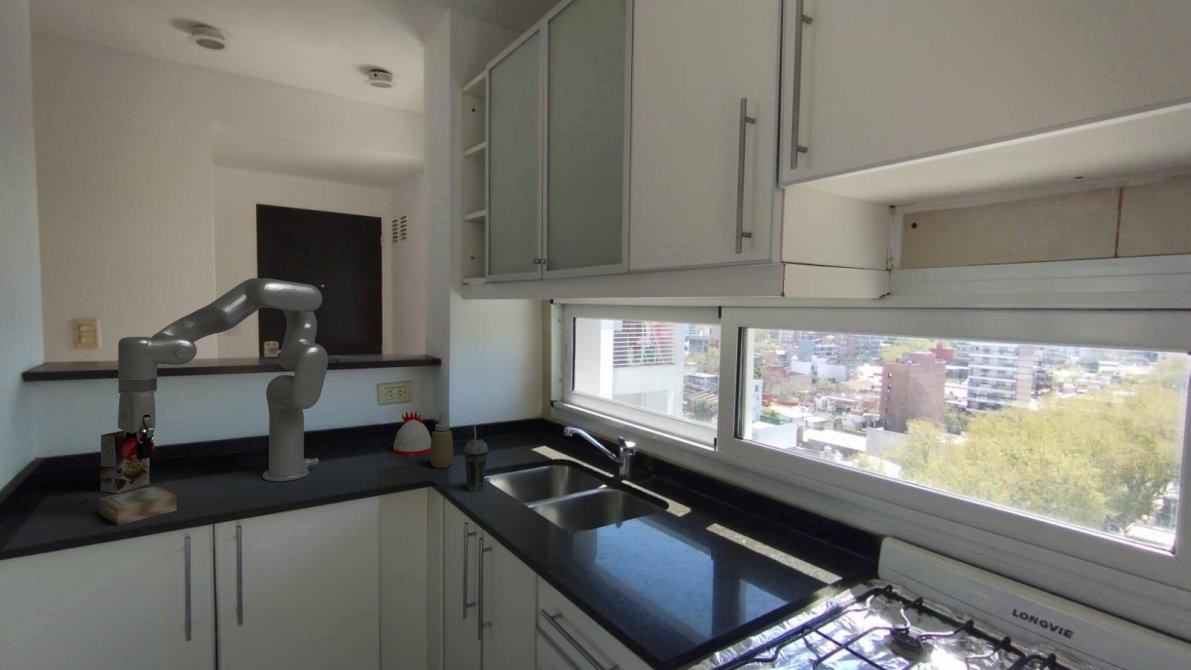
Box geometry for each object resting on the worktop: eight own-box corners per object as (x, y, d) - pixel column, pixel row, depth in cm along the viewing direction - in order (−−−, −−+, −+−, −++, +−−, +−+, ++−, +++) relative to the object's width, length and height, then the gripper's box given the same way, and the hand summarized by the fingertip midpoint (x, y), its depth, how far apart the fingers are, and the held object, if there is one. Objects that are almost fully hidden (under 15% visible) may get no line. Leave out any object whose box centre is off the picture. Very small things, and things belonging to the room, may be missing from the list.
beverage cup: (491, 487, 170) (493, 423, 169) (479, 495, 163) (481, 427, 162) (471, 484, 172) (472, 420, 171) (457, 491, 165) (459, 425, 164)
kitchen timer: (398, 446, 214) (399, 407, 213) (435, 446, 215) (435, 408, 215) (389, 455, 200) (389, 414, 199) (428, 456, 202) (429, 415, 201)
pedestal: (156, 500, 149) (156, 485, 149) (176, 510, 143) (176, 494, 143) (99, 513, 139) (99, 497, 139) (117, 525, 133) (117, 508, 132)
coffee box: (118, 494, 153) (117, 436, 152) (99, 491, 154) (99, 434, 153) (150, 483, 162) (150, 429, 161) (133, 481, 163) (132, 427, 162)
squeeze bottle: (423, 467, 187) (425, 415, 186) (439, 461, 195) (440, 411, 194) (443, 471, 184) (444, 417, 183) (458, 464, 192) (459, 413, 191)
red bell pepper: (163, 445, 141) (157, 429, 144) (137, 442, 136) (131, 426, 139) (144, 469, 141) (139, 453, 144) (117, 466, 136) (112, 450, 139)
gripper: (105, 383, 141) (106, 452, 142) (133, 391, 131) (133, 465, 132) (142, 381, 147) (142, 446, 148) (170, 388, 138) (170, 458, 139)
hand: (138, 455), depth 140 cm, fingers closed on red bell pepper, 7 cm apart
